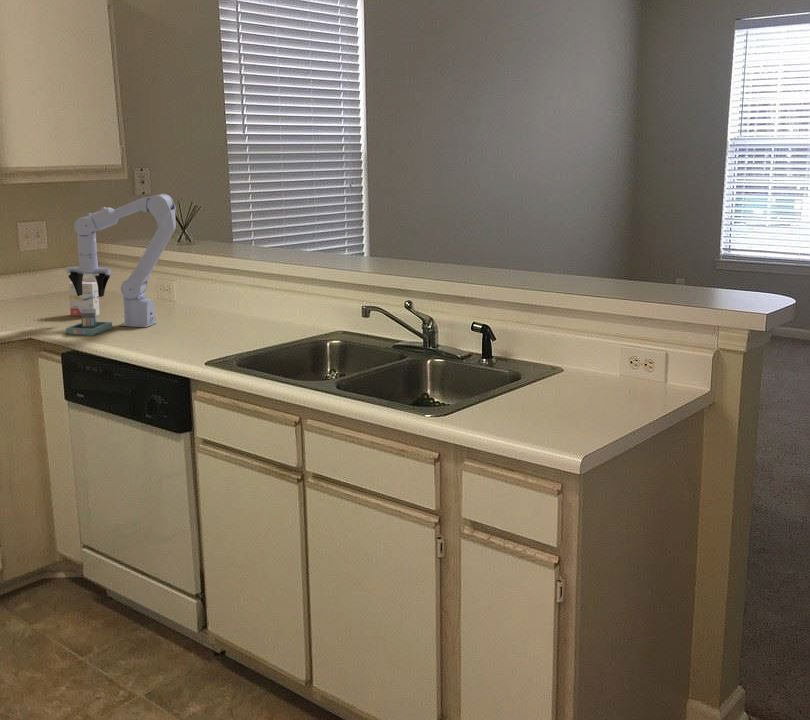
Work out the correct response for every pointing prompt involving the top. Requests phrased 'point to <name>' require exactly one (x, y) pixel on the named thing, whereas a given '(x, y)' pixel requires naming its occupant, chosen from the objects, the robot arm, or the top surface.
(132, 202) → the robot arm
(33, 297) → the top surface
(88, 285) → the ink cartridge box
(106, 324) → the service tray
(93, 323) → the block
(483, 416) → the top surface
